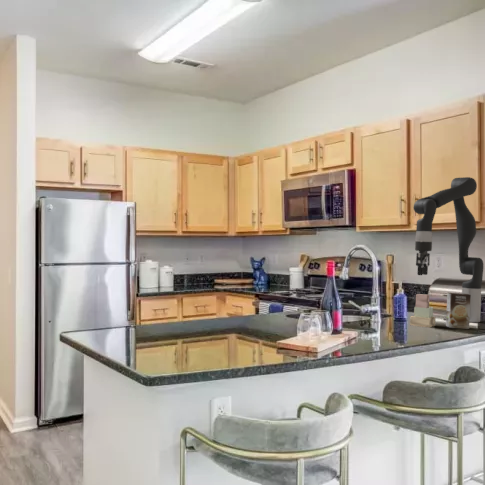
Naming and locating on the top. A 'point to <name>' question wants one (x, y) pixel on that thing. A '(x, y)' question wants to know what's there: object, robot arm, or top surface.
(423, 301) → the rose block
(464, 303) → the coffee box
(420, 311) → the tower mid
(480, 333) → the top surface
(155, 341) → the top surface
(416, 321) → the tower base
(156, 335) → the top surface
